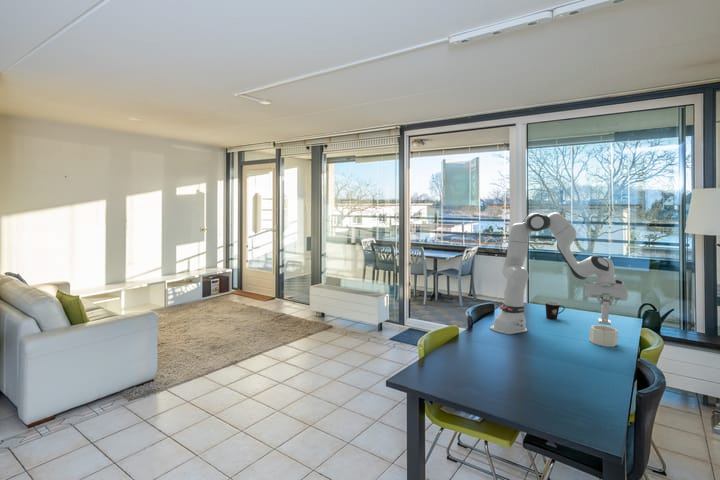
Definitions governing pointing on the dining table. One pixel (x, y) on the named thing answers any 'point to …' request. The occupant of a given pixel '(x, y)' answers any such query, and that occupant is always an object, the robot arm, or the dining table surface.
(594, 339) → the round wooden bowl
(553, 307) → the coffee mug
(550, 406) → the dining table surface
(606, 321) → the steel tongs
